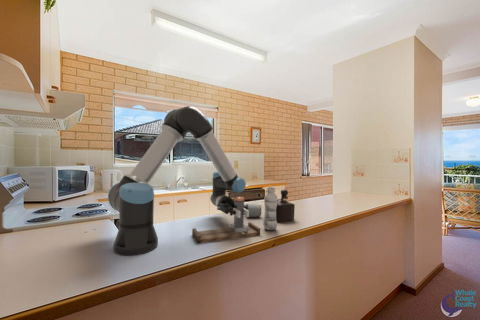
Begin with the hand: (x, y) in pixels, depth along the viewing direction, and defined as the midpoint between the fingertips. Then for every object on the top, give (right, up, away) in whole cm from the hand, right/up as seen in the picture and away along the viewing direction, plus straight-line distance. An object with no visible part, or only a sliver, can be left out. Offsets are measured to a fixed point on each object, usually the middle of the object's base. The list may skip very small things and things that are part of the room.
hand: (243, 214), depth 97 cm
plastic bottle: (+13, -10, +11) cm, 20 cm away
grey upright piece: (-2, -8, +5) cm, 10 cm away
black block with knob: (+22, -10, +28) cm, 37 cm away
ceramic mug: (+5, -10, +35) cm, 37 cm away
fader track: (-7, -10, +3) cm, 13 cm away
